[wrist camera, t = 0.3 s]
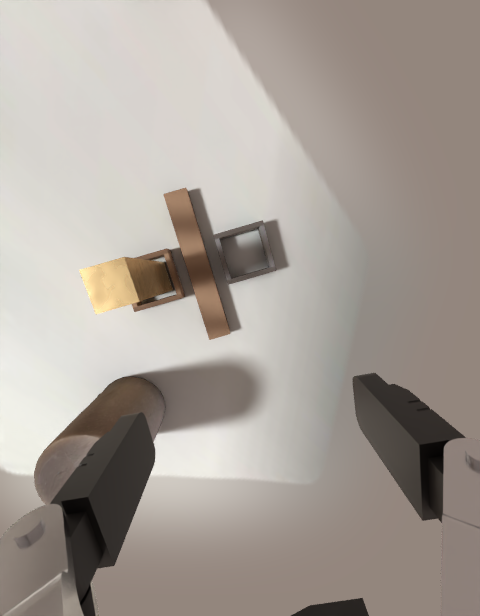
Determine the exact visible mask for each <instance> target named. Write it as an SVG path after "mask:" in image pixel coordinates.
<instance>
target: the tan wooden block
mask: <svg viewBox="0 0 480 616" xmlns="http://www.w3.org/2000/svg"><path fill="white" fill-rule="evenodd" d="M79 271H80V274H81V276H82V279H83V282H84V284H85V287H86V289H87V292H88V295H89V297H90V300H91V303H92V305H93V308H94V311H95V313H96V314H99V313H102V312H106V311H109V310H112V309H116V308H119V307H123V306H126V305H129V304H133V303H136V302H140V301H142V300H145V299H148V298H151V297H154V296H157V295H160V294H163V293H166V292H169V291H171V290H173V288H172V285H171V282H170V279H169V276H168V273H167V270H166V267H165V264H164V262H159V261H151V260H143V259H135V258H128V257H122V258H119V259H116V260H112V261H109V262H105V263H102V264H99V265H95V266H92V267H88V268H85V269H81V270H79Z"/></svg>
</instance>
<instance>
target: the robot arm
mask: <svg viewBox="0 0 480 616" xmlns="http://www.w3.org/2000/svg"><path fill="white" fill-rule="evenodd" d="M353 391H354V400H355V410H356V417H357V420H358V423H359V426H360V428H361V430H362V432H363V434H364V435H365V437H366V438H367V439H368V441H369V442H370V444H371V445H372V447H373V448H374V450H375V451H376V453H377V454H378V456H379V457H380V459H381V460H382V462H383V463H384V465H385V466H386V467H387V469H388V470H389V472H390V473H391V475H392V476H393V478H394V479H395V481H396V482H397V484H398V485H399V487H400V488H401V490H402V491H403V493H404V494H405V496H406V497H407V498H408V500H409V501H410V503H411V504H412V506H413V507H414V508H415V510H416V512H417V513H418V515H419V516H420V517H421V519H422V520H430V519H437V518H438V519H439V520H440V521H441V523H442V559H441V560H442V561H441V616H480V440H478V439H472V438H465V437H464V436H463V435H462V434H461V433H460V432H458V431H457V430H456V429H455V428H454V427H452V426H451V425H450V424H449V423H448V422H446V421H445V420H444V419H443V418H442V417H440V416H439V415H438V414H437V413H435V412H434V411H433V410H432V409H431V410H430V408H429V407H428V406H427V405H426V404H425V403H423V402H421V401H420V399H419V398H417V397H416V396H415V395H414V394H413V393H411V392H410V391H409V390H407V389H404V388H402V387H400V386H398V385H395V384H391V385H388V384H387V383H386V382H385V381H384V380H382V378H380V377H379V376H378V375H377V374H376V373H371V374H365V375H359V376H354V377H353ZM154 462H155V447H154V443H153V440H152V436H151V433H150V430H149V426H148V423H147V420H146V417H145V415H144V413H142V412H140V413H134V414H128V415H123V416H121V417H120V418H119V419H118V421H117V422H116V423H115V425H114V426H113V428H112V429H111V431H110V432H107V433H106V434H105V435H103V436H102V437H101V438H100V439H99V440H98V441H96V442H95V443H94V445H93V446H92V447H91V449H90V450H89V451H88V453H87V454H86V457H84V458H83V460H82V461H81V462H80V464H79V467H77V468H76V469H75V470H74V472H73V473H72V474H71V476H70V477H69V478H68V480H67V481H66V482H65V484H64V485H63V487H62V488H61V489H60V491H59V492H58V493H57V495H56V496H55V497H54V499H53V500H52V501H51V503H50V504H48V505H44V506H41V507H39V508H37V509H35V510H33V511H31V512H29V513H28V514H26V515H25V516H23V517H22V518H21V519H19V520H18V521H17V522H16V523H14V524H13V525H12V526H11V527H10V528H9V529H8V530H7V531H6V532H5V533H4V534H3V536H2V537H1V538H0V616H99V611H98V605H97V599H96V594H95V588H94V585H93V583H92V578H93V576H94V574H95V572H96V569H97V568H103V567H110V566H114V565H115V562H116V560H117V557H118V555H119V552H120V550H121V547H122V545H123V542H124V539H125V537H126V534H127V532H128V529H129V527H130V524H131V522H132V519H133V516H134V514H135V511H136V509H137V506H138V504H139V501H140V499H141V496H142V493H143V491H144V489H145V486H146V483H147V481H148V478H149V476H150V473H151V471H152V468H153V466H154ZM291 616H369V615H368V612H367V609H366V607H365V604H364V601H363V598H360V599H352V600H346V601H338V602H332V603H325V604H317V605H310V606H308V607H306V608H304V609H302V610H301V611H299V612H297V613H295V614H293V615H291Z"/></svg>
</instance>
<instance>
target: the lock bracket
mask: <svg viewBox="0 0 480 616" xmlns="http://www.w3.org/2000/svg"><path fill="white" fill-rule="evenodd" d="M164 198H165V201H166V204H167V207H168V210H169V213H170V216H171V220H172V223H173V226H174V229H175V232H176V235H177V239H178V242H179V245H180V248H181V251H182V254H183V258H184V261H185V264H186V267H187V270H188V273H189V276H190V280H191V283H192V286H193V289H194V292H195V295H196V299H197V302H198V305H199V308H200V311H201V314H202V318H203V321H204V324H205V327H206V330H207V333H208V336H209V340H211V339H214V338H218V337H221V336H225V335H228V334H230V329H229V326H228V322H227V319H226V316H225V312H224V309H223V306H222V302H221V299H220V296H219V293H218V289H217V286H216V283H215V279H214V276H213V273H212V269H211V266H210V263H209V260H208V256H207V253H206V250H205V246H204V243H203V240H202V236H201V233H200V230H199V227H198V223H197V220H196V217H195V213H194V210H193V207H192V203H191V200H190V197H189V194H188V191H187V189H186V188H183V189H180V190H176V191H173V192H169V193H166V194H164ZM255 229H258V230H259V234H260V238H261V241H262V245H263V249H264V253H265V256H266V260H267V264H268V267H269V268H265V269H262V270H258V271H255V272H252V273H248V274H245V275H241V276H238V277H235V278H231V277H230V273H229V270H228V267H227V263H226V260H225V256H224V253H223V250H222V246H221V243H220V240H221V239H225V238H228V237H231V236H235V235H238V234H242V233H245V232H248V231H252V230H255ZM214 239H215V242H216V246H217V249H218V252H219V256H220V259H221V262H222V266H223V269H224V273H225V276H226V279H227V283H228V284H232V283H235V282H239V281H242V280H245V279H249V278H252V277H256V276H259V275H263V274H266V273H269V272H273V271H276V268H275V264H274V260H273V256H272V253H271V249H270V245H269V241H268V238H267V234H266V230H265V226H264V223H263V220H262V221H259V222H256V223H252V224H249V225H245V226H242V227H239V228H235V229H232V230H228V231H225V232H222V233H218V234H215V235H214ZM163 256H164V257H165V260H166V263H167V266H168V269H169V272H170V275H171V278H172V281H173V284H174V287H175V290H176V293H177V295H173V296H170V297H166V298H163V299H160V300H156V301H153V302H149V303H146V304H143V305H142V302H141V301H140V302H136V303H133V304H132V306H133V309H134V312H136V311H140V310H143V309H147V308H150V307H153V306H157V305H160V304H164V303H167V302H170V301H174V300H177V299H181V298H183V297H185V294H184V291H183V288H182V285H181V282H180V279H179V276H178V273H177V269H176V266H175V263H174V260H173V257H172V254H171V251H170V250H169V249H164V250H160V251H157V252H153V253H150V254H147V255H143V256H140V257H136V258H135V259H143V260H153V259H156V258H160V257H163Z"/></svg>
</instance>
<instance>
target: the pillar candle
mask: <svg viewBox="0 0 480 616" xmlns="http://www.w3.org/2000/svg"><path fill="white" fill-rule="evenodd" d="M140 412H142V413H144V415H145V417H146V420H147V423H148V426H149V430H150V433H151V436H152V440H153V442H154V439H155V437H156V435H157V432H158V430H159V427H160V425H161V422H162V420H163V417H164V413H165V402H164V398H163V396H162V394H161V392H160V391H159V389H158V388H157V387H156V386H155V385H153V384H152V383H151V382H149V381H147V380H145V379H142V378H137V377H123V378H120V379H117V380H115V381H114V382H112V383H111V384H109V385H108V386H107V387H106V389H105V390H104V391H103V392H102V393H101V394H99V395H98V396H97V398H96V399H95V400H94V401H93V402H92V403H91V404H90V405H89V406H88V407H87V408H86V409H85V410H84V411H82V412H81V413H80V414H79V415H78V417H77V418H76V419H75V420H73V421H72V422H71V423H70V424H69V426H67V428H66V429H65V430H64V431H63V432H62V433H61V434H60V435H59V436H58V437H57V438H56V439H55V440H54V441H53V442H52V443H51V444H50V445H49V446H48V447H47V448H46V449H45V450H44V451H43V453H42V454H41V456H40V457H39V459H38V461H37V464H36V468H35V471H34V478H35V487H36V490H37V492H38V495H39V497H40V498H41V500H42V501H43V502H44V503H45V504H46V505H48V504H50V503H51V501H52V500H53V499H54V497H55V496H56V495H57V493H58V492H59V491H60V489H61V488H62V487H63V485H64V484H65V482H66V481H67V480H68V478H69V477H70V476H71V474H72V473H73V472H74V470H75V469H76V468H77V467H79V464H80V462H81V461H82V460H83V458H84V457H86V454H87V453H88V451H89V450H90V449H91V447H92V446H93V445H94V443H95V442H96V441H98V440H99V439H100V438H101V437H102V436H103V435H105V434H106V433H107V432H110V431H111V429H112V428H113V426H114V425H115V423H116V422H117V421H118V419H119V418H120V417H121V416H123V415H128V414H134V413H140Z"/></svg>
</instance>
